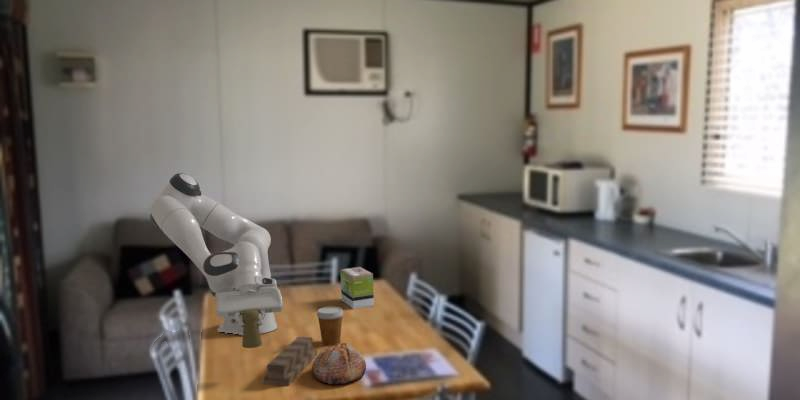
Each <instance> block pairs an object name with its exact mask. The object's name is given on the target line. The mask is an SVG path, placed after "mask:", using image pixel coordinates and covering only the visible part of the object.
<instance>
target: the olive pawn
mask: <svg viewBox="0 0 800 400" xmlns="http://www.w3.org/2000/svg"><path fill="white" fill-rule="evenodd" d="M258 318H259V312H258V311H257V310H255V309H249V310H245V311H243V313H242V319H243V321H244V328H243V335H242V343H241V346H242V348H245V349H253V348H258V347H261V346H263V342H262V337H261V334H260V331H259V326H258V321H257V320H258Z"/></svg>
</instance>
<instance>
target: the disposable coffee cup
mask: <svg viewBox="0 0 800 400" xmlns="http://www.w3.org/2000/svg"><path fill="white" fill-rule="evenodd" d="M316 316H317V318H318V325H319V329H320V336H321V343H322V344H323V346H333V345H335V344H336V343H337V342H339V343H340V344H341V336H342V325H343V324H342V323H343V316H344V311H343V309H342V308H341V307H339V306H325V307H321V308H318V310H317V313H316Z"/></svg>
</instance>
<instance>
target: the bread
mask: <svg viewBox="0 0 800 400" xmlns="http://www.w3.org/2000/svg"><path fill="white" fill-rule="evenodd" d="M313 360H314V361H313V362H312V366H311V372H312V375H313V376H314V378H315V379H316V380H318V382H323V383H327V384H328V385H332V386H337V385H346V384H347V383H350V382H354V381H357V380H360V379H362V378H363V377H364V375H365V374H366V370H367V363H366V360H365V358H364V357H363V355H362V353H361V352H360V351H358V350H356V349H355V348H354V347H352V346H351V345H349V343H347V342H345V343H344V342H342V343H341V342H340V343H339V342H337V343H336V344H335V345H329V346H327V348H323V350H321V351H320V352H319V354H317V356H316V357H315V358H314V359H313Z"/></svg>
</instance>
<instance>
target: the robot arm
mask: <svg viewBox="0 0 800 400" xmlns="http://www.w3.org/2000/svg"><path fill="white" fill-rule="evenodd" d="M149 218H150V221H151V223H152V224H153V225H154V226H155V227H156V228H158V229H160V230H161V231H162V232H163V233H164V235H165V236H167V237H168V238H169V240H170V241H171V242H173V244H175V245H176V246H177V247H178V249H180V250H181V251H182V252H183V253H184V254H185V255H186V256H187V257H188V259H190V260H191V262H192V263H193V264H194V265H195V267H196V268H197V269H198V270H199V271H200V272H201V274H202V276H204V278H205V279H206V281H207V283H208V287H209V291H210V294H211V295H212V297H213V298H214V297H215V298H214V299H215V301H216V315H217V317H219V318H223V323H222V324H220V325H219V326H218V328H217V332H218V331H219V332H225V333H224V334H227V333H233V334H232V335H235V334H239V335H238V336H243V328H244V321H243V319H242V313H243V311H245V310H249V309H255V310H257V311H258V312H259V318H258V320H257V321H258V326H259V331H260V335H261V334H266V333H269V332H273V331H274V330H276V329H277V328H278V324H277V320H276V317H275V314H274V313H279V312H282V311H283V307H284V306H283V305H284V304H283V299H282V294H281V290H280V289H279V287H278V285H277V280H276V279H275V278H272V275H271V269H270V262H269V256H268V252H269V249H270V246H271V242H272V241H271V240H272V237H271V235H270V232H269V231H268V230H267V229H266V228H264V227H262V226H260V225H259V224H256V223H255V222H252V221H251V220H249V219H247V218H245V217H244V216H241V215H239V214H237V213H235V211H232V210H231V209H229V208H228V207H226V206H225V205H223V204H221V203H220V202H218V201H216V200H215V199H213V198H212V197H210V196H207V195H205V194H202V191H201V188H200V185H199V183H198V181H197V180H196V179H195V178H193V177H192V176H190V175H189V174H186V173H183V172H180V173H175V174H174V175H173V176H172V177H171V178H170V179H169V182H168V183H167V184H166V185H165V186H164V188H163V189H162V191H161V192H160V195H159V196H158V197H157V198H156V199H154V200H153V202H152V203H151V206H150V215H149ZM201 228H203V229H204V230H206V231H208V232H209V233H210V234H211V235H214V236H215V237H217V238H218V239H220V240H224V241H226V242H229V243H230V244H232V245H233V246H232V247H231V248H229V249H226V250H223V251H217V252H214V253H211V252H210V251H209V249H208V247H207V245H206V243H205V239H204V237H203V232H202V230H201ZM219 332H218V333H219Z"/></svg>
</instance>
